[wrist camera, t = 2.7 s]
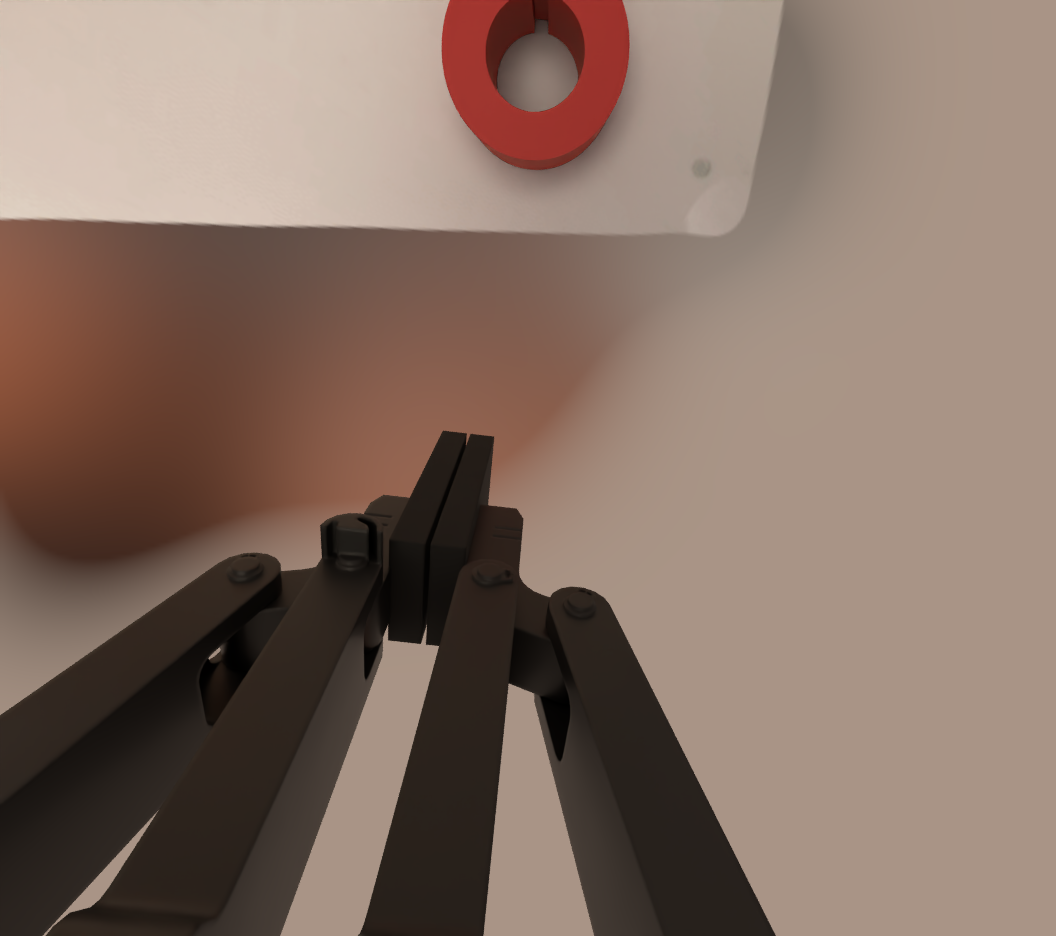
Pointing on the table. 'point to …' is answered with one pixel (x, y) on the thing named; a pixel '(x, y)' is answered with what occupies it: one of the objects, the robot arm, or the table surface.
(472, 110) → the lever
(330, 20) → the table surface
